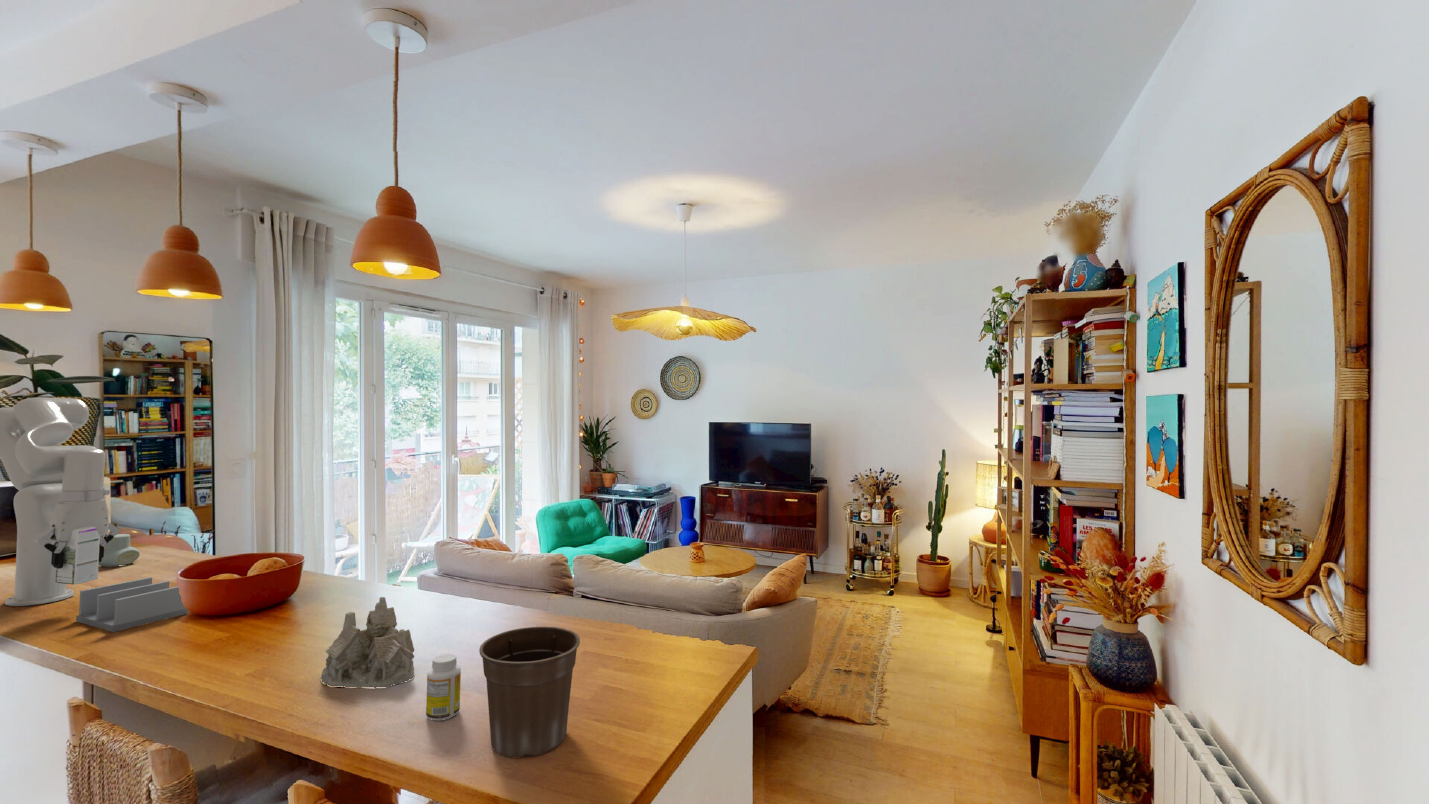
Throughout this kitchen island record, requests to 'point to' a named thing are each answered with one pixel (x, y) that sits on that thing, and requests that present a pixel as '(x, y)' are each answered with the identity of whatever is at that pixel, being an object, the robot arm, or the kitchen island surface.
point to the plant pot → (529, 688)
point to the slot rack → (129, 604)
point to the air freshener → (119, 552)
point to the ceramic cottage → (370, 652)
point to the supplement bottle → (443, 688)
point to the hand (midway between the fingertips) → (77, 563)
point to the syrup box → (80, 557)
